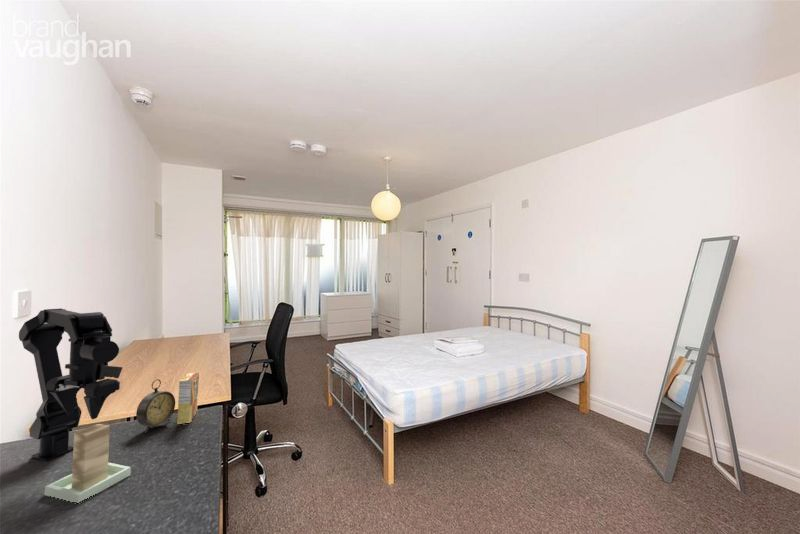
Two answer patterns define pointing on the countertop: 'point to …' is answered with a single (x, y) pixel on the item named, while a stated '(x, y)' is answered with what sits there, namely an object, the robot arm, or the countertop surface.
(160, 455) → the countertop surface
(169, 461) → the countertop surface
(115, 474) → the green tray
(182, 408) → the candy box
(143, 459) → the countertop surface
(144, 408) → the alarm clock
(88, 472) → the beech block
